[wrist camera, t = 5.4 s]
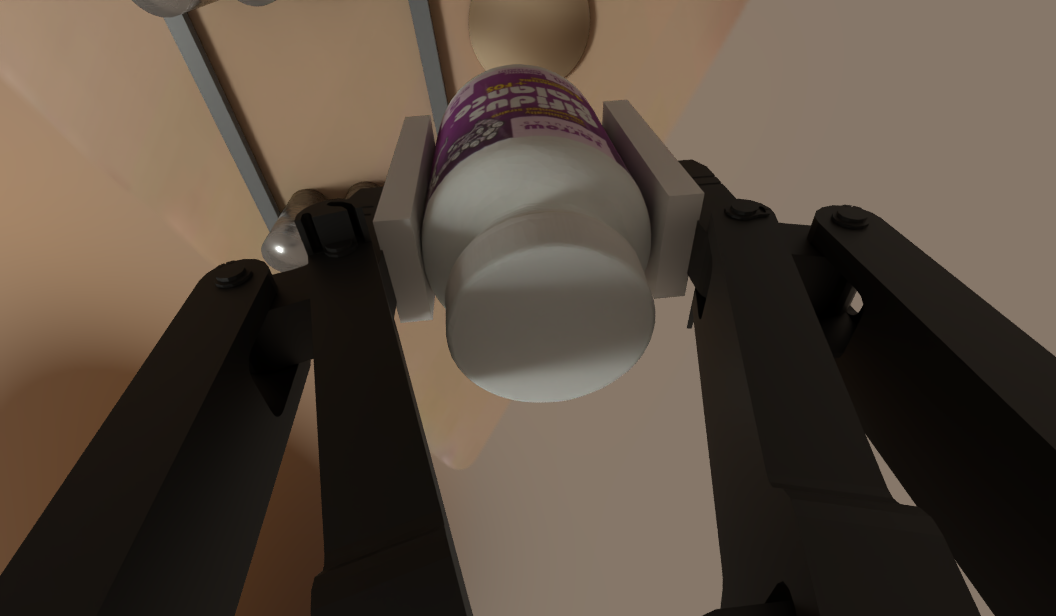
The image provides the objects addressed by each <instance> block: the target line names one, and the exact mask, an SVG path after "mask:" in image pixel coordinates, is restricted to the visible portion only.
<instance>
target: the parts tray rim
mask: <svg viewBox="0 0 1056 616" xmlns="http://www.w3.org/2000/svg"><path fill="white" fill-rule="evenodd" d="M408 1H409V5H410V10H411V15H412V19H413V24H414V29H415V33H416V38H417V43H418V47H419V52H420V57H421V61H422V66H423V71H424V75H425V80H426V85H427V89H428V94H429V99H430V103H431V108H432V113H433V117H434V122H435V127H436V131H437V136H438V132H439V128H440V124H441V121H442V118H443V115H444V113H445V111H446V109H447V107H448V101H447V96H446V91H445V85H444V80H443V75H442V70H441V65H440V59H439V54H438V49H437V44H436V38H435V33H434V28H433V23H432V18H431V12H430V7H429V2H428V0H408ZM163 18H164V20H165V22H166V24H167V26H168V28H169V30H170V32H171V34H172V36H173V38H174V40H175V42H176V44H177V46H178V48H179V50H180V52H181V54H182V56H183V58H184V60H185V62H186V64H187V66H188V68H189V70H190V72H191V74H192V76H193V78H194V80H195V82H196V84H197V86H198V88H199V90H200V92H201V94H202V96H203V98H204V100H205V102H206V104H207V106H208V109H209V111H210V113H211V115H212V117H213V119H214V121H215V123H216V125H217V127H218V129H219V131H220V133H221V135H222V137H223V139H224V141H225V143H226V145H227V147H228V149H229V151H230V153H231V155H232V157H233V159H234V161H235V163H236V165H237V167H238V169H239V171H240V173H241V175H242V177H243V179H244V181H245V183H246V185H247V187H248V189H249V191H250V193H251V195H252V197H253V199H254V201H255V203H256V205H257V207H258V209H259V211H260V213H261V215H262V217H263V219H264V222H265V224H266V226H267V228H268V230H269V232H270V231H271V229H272V228H273V226H274V224H275V223H276V221H277V220H278V218H279V216H280V215H281V213H280V211H279V209H278V207H277V205H276V203H275V201H274V198H273V196H272V194H271V192H270V190H269V188H268V186H267V183H266V181H265V179H264V177H263V175H262V173H261V171H260V168H259V166H258V164H257V162H256V160H255V158H254V156H253V153H252V151H251V149H250V147H249V145H248V143H247V141H246V138H245V136H244V134H243V132H242V130H241V128H240V126H239V123H238V121H237V119H236V117H235V115H234V113H233V111H232V108H231V106H230V104H229V102H228V100H227V98H226V96H225V93H224V91H223V89H222V87H221V85H220V83H219V81H218V78H217V76H216V74H215V72H214V70H213V68H212V66H211V63H210V61H209V59H208V57H207V55H206V53H205V51H204V48H203V46H202V44H201V42H200V40H199V38H198V36H197V33H196V31H195V29H194V27H193V25H192V23H191V21H190V18H189V16H188V14H187V12H186V13H183V14H181V15H178V16H175V17H169V18H166V17H163Z"/></svg>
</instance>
